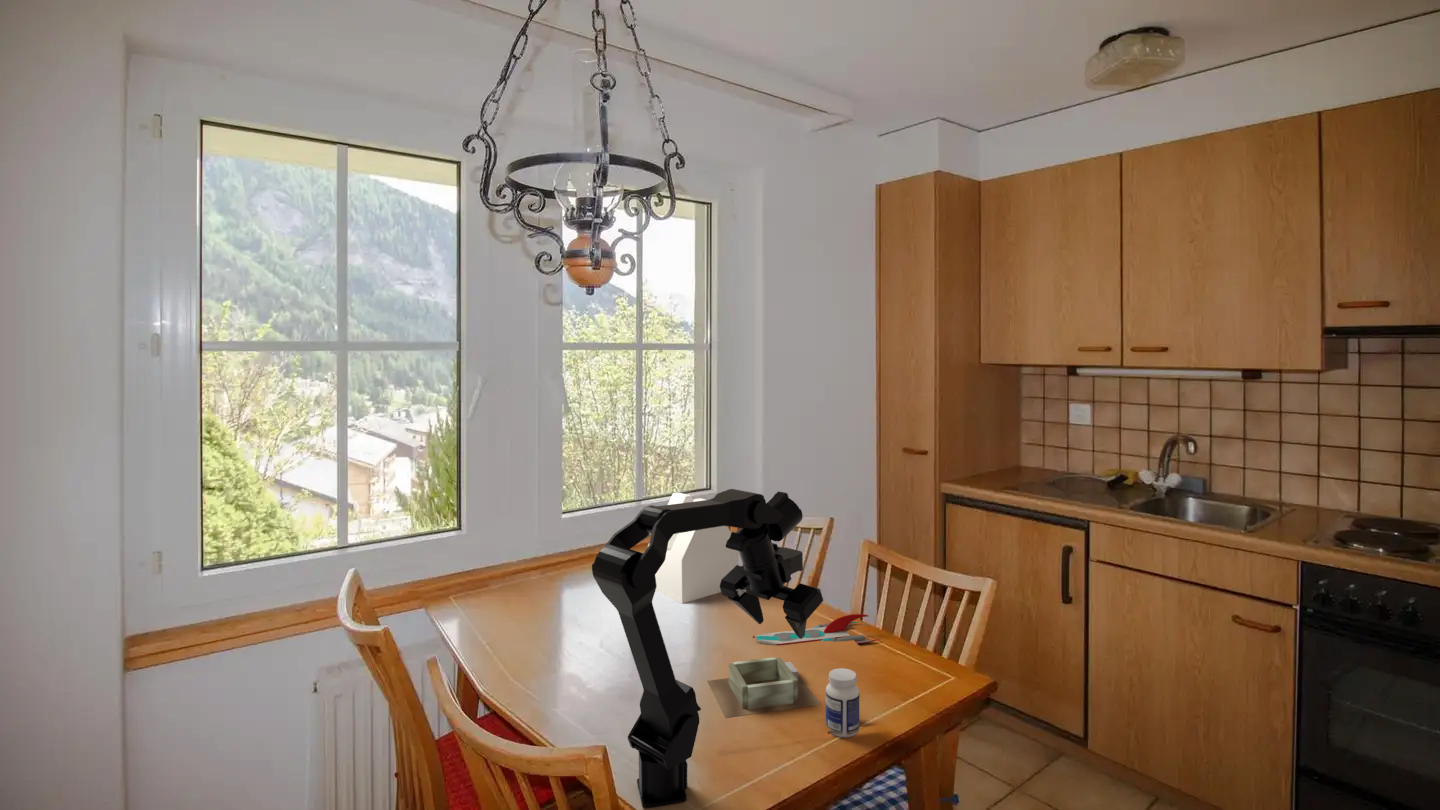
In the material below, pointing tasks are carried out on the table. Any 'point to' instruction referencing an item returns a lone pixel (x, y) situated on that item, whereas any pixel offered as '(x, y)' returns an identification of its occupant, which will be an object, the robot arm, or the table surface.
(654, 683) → the robot arm
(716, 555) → the white sloped block
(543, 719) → the table surface
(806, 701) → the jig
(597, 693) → the table surface
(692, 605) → the table surface
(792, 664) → the block
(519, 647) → the table surface
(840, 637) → the toy spaceship
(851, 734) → the pill bottle
